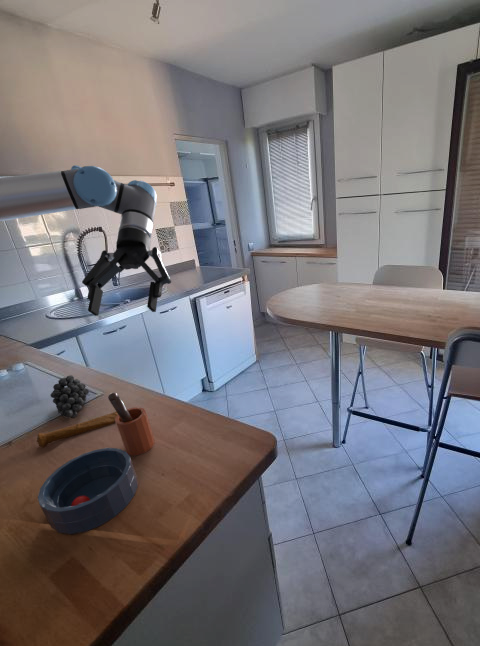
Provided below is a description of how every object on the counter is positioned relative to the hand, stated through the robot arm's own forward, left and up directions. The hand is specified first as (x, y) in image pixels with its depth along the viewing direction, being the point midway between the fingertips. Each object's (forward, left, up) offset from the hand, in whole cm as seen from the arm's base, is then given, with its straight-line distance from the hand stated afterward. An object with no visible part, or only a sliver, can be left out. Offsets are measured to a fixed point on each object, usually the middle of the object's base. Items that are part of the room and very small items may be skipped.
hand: (122, 311), depth 76 cm
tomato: (+5, -29, -26) cm, 40 cm away
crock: (+5, -12, -29) cm, 31 cm away
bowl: (+5, -26, -29) cm, 39 cm away
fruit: (-24, 0, -29) cm, 38 cm away
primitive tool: (-13, -7, -29) cm, 33 cm away
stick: (+5, -11, -28) cm, 31 cm away
